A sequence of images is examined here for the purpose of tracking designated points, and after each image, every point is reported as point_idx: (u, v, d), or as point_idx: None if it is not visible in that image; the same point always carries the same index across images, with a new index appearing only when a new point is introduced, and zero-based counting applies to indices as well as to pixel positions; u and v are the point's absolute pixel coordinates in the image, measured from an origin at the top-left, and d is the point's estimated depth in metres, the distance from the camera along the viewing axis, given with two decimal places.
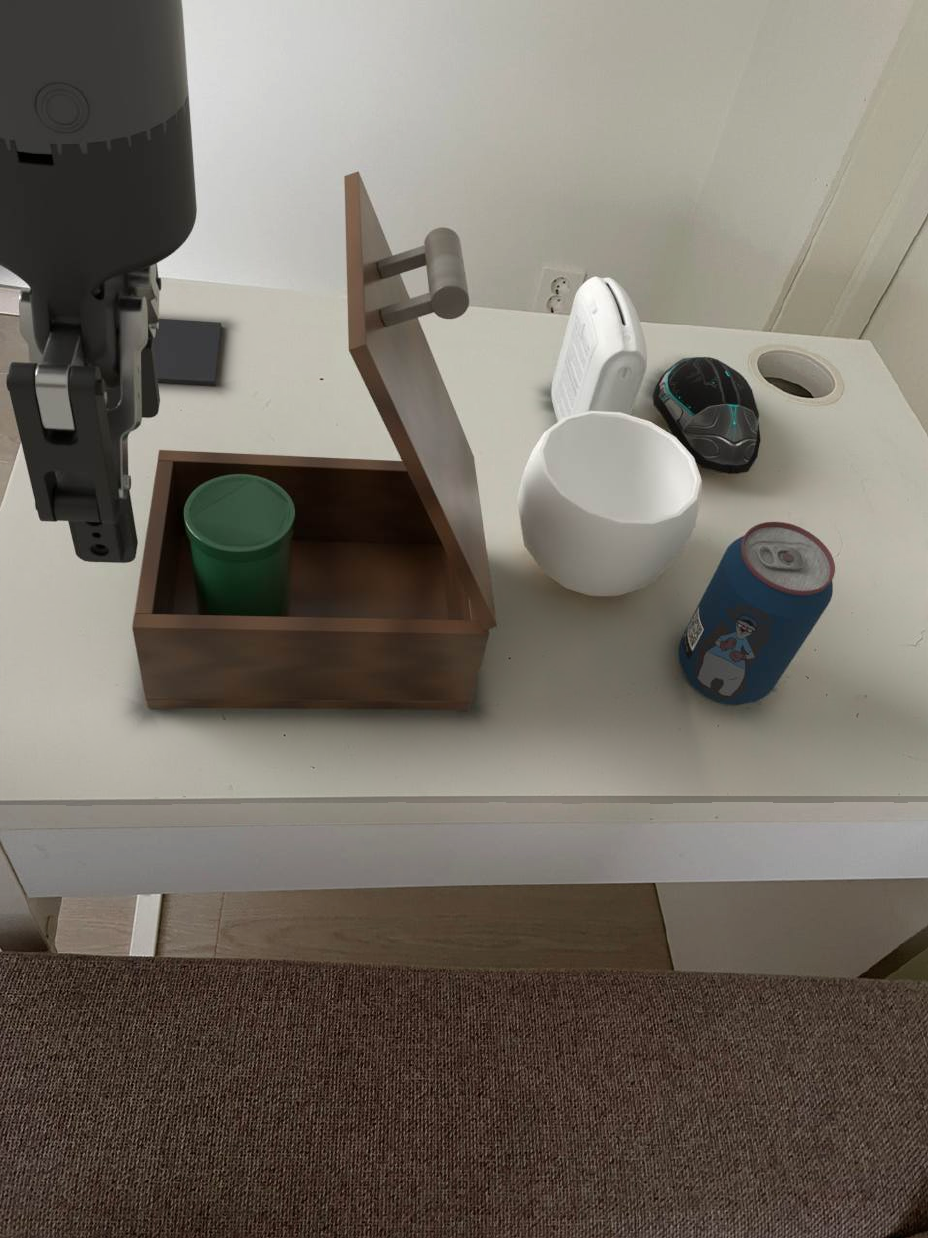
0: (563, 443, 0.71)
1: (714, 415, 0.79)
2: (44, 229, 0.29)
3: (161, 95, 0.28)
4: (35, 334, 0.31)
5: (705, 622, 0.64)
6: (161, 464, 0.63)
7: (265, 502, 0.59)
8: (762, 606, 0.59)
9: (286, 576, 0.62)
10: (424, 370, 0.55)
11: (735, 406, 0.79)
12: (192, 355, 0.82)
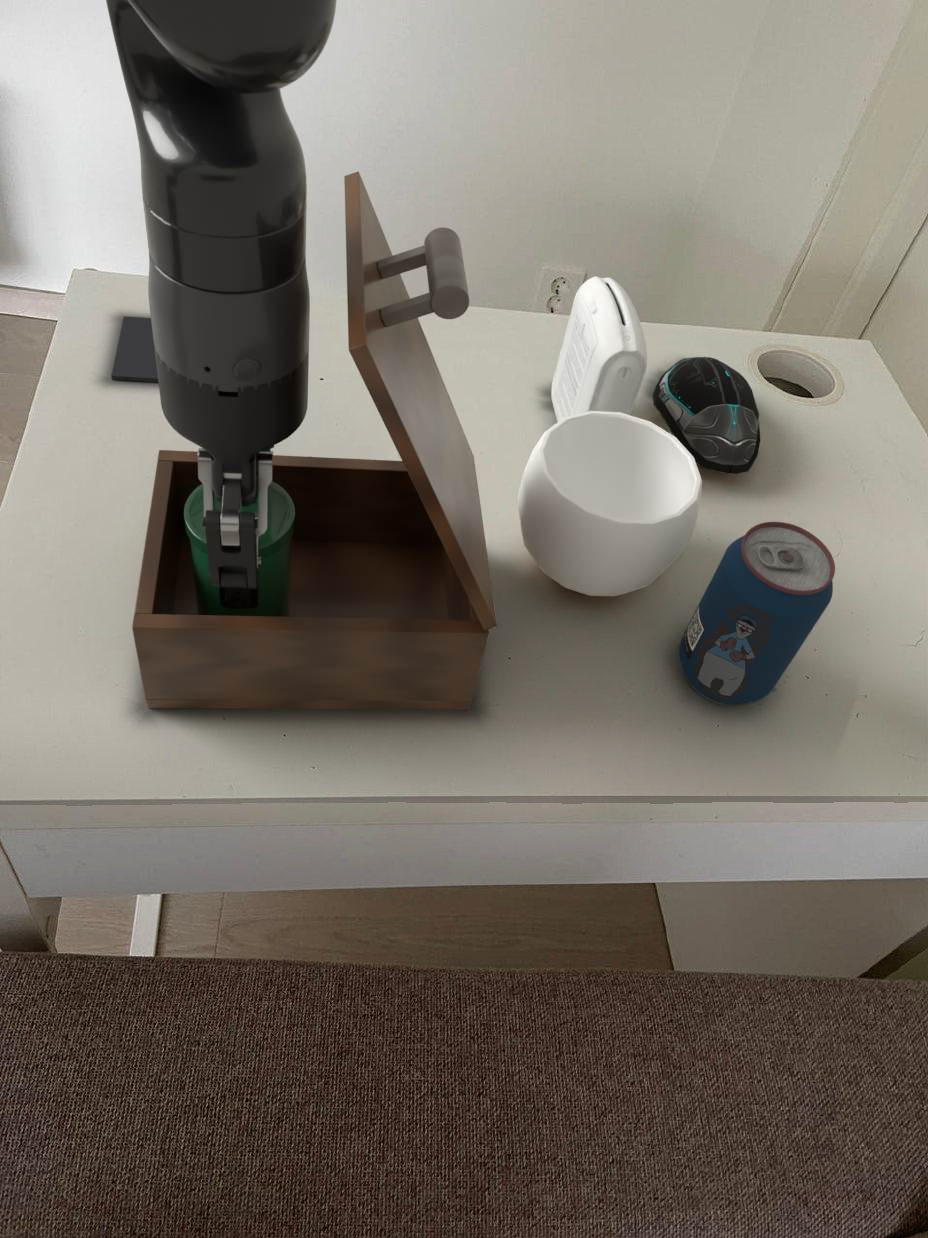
0: (563, 443, 0.71)
1: (714, 415, 0.79)
2: (227, 428, 0.49)
3: (298, 353, 0.48)
4: (213, 482, 0.51)
5: (705, 621, 0.64)
6: (161, 464, 0.63)
7: None
8: (762, 606, 0.59)
9: (286, 576, 0.62)
10: (424, 370, 0.55)
11: (735, 406, 0.79)
12: None
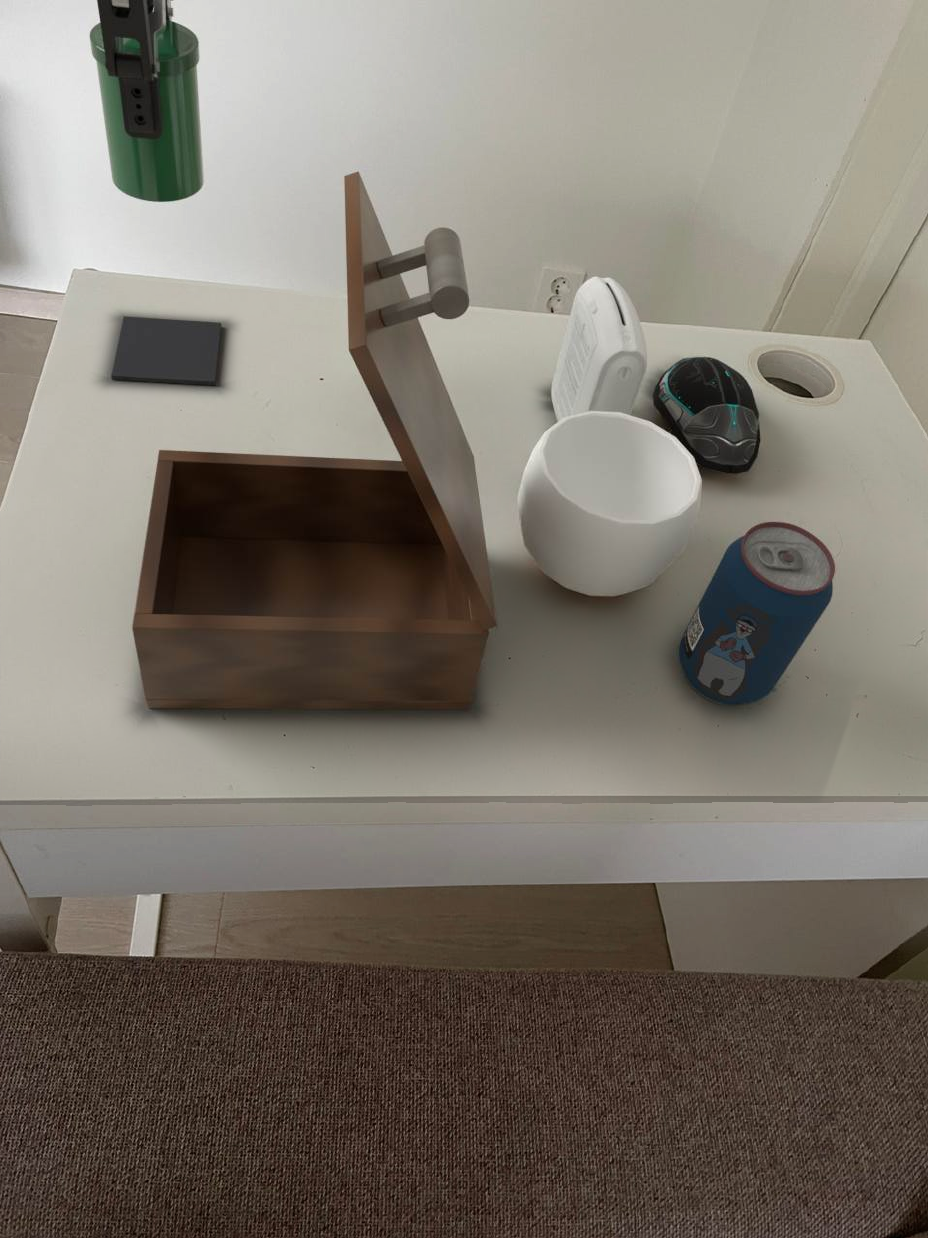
0: (563, 443, 0.71)
1: (714, 415, 0.79)
2: None
3: None
4: None
5: (705, 621, 0.64)
6: (161, 464, 0.63)
7: (170, 34, 0.62)
8: (762, 606, 0.59)
9: (193, 122, 0.64)
10: (424, 370, 0.55)
11: (735, 406, 0.79)
12: (192, 355, 0.82)
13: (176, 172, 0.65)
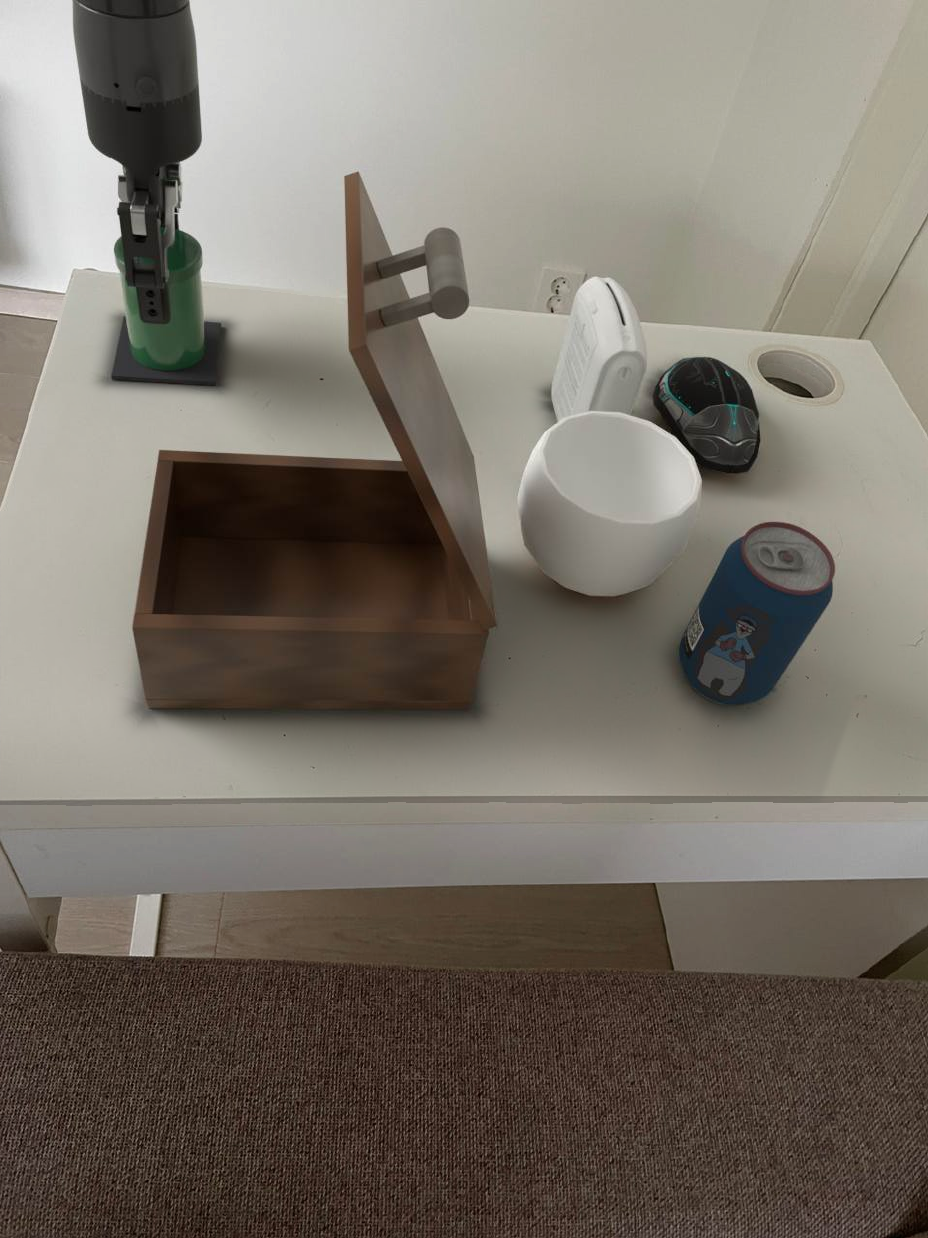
0: (563, 443, 0.71)
1: (714, 415, 0.79)
2: (135, 141, 0.65)
3: (187, 82, 0.65)
4: (127, 192, 0.68)
5: (705, 621, 0.64)
6: (161, 464, 0.63)
7: (178, 244, 0.76)
8: (762, 606, 0.59)
9: (198, 310, 0.78)
10: (424, 370, 0.55)
11: (735, 406, 0.79)
12: None
13: (184, 349, 0.79)
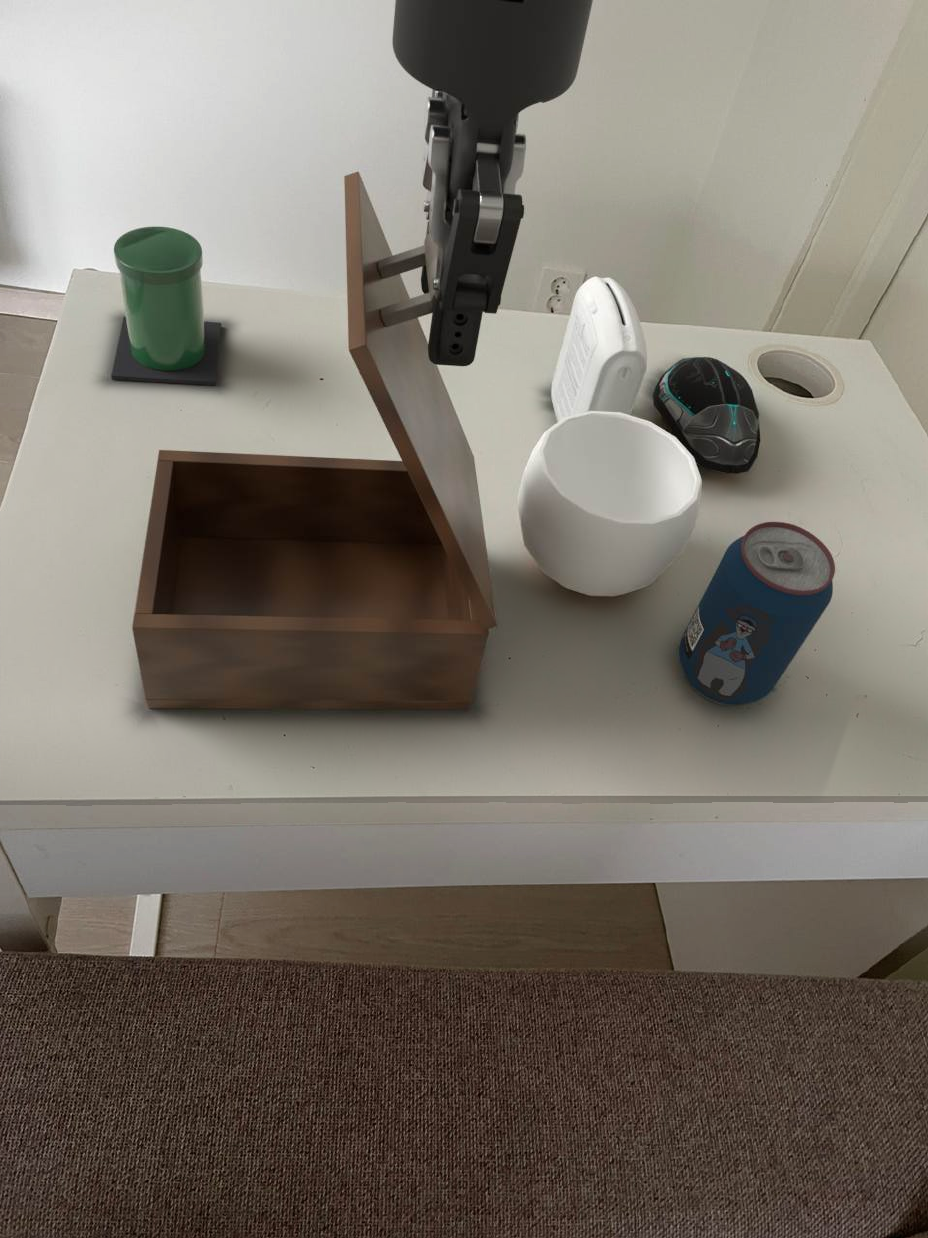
0: (563, 443, 0.71)
1: (714, 415, 0.79)
2: (497, 58, 0.37)
3: None
4: (462, 153, 0.39)
5: (705, 621, 0.64)
6: (161, 464, 0.63)
7: (178, 244, 0.76)
8: (762, 606, 0.59)
9: (198, 310, 0.78)
10: (424, 370, 0.55)
11: (735, 406, 0.79)
12: None
13: (184, 349, 0.79)
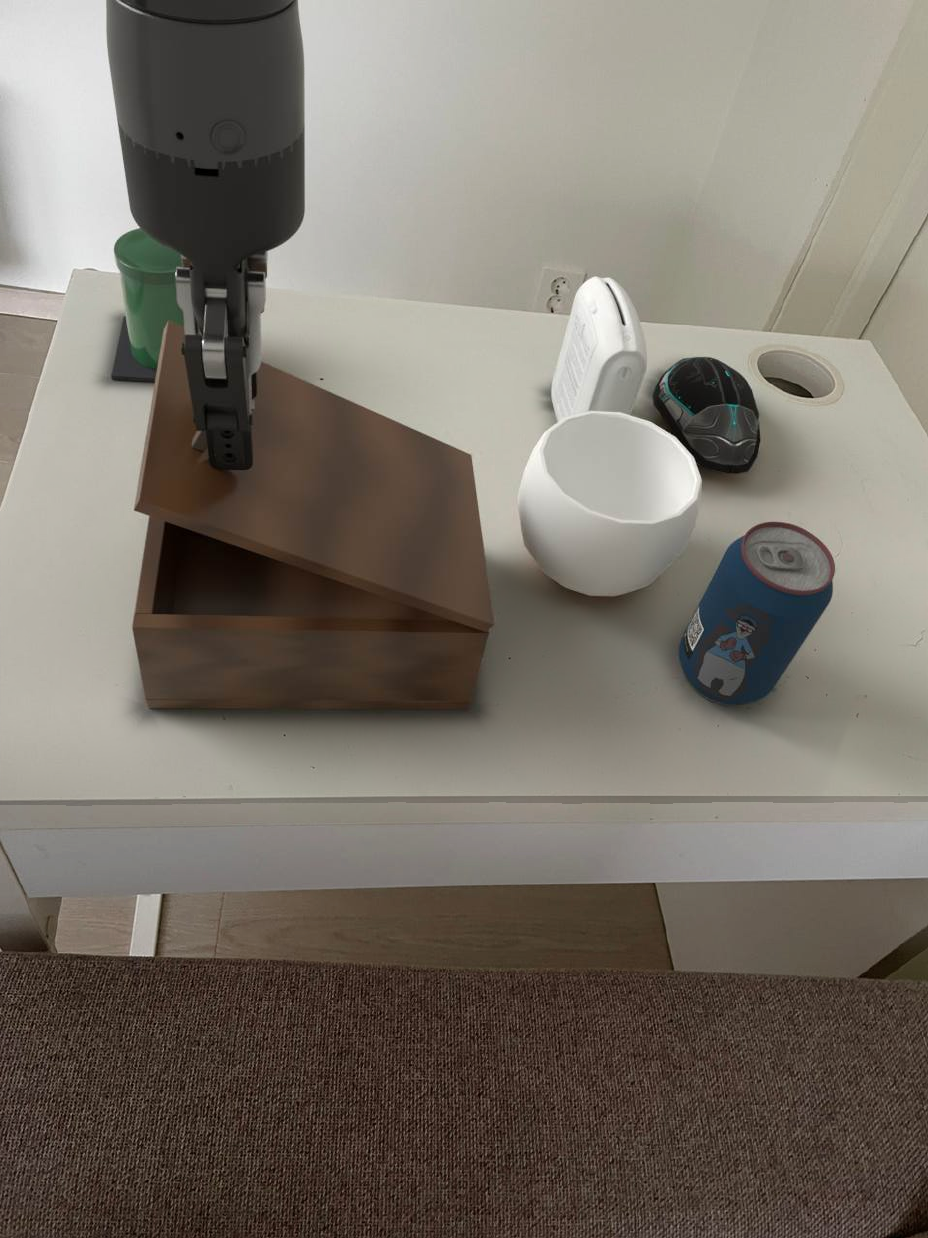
0: (563, 443, 0.71)
1: (714, 415, 0.79)
2: (207, 221, 0.41)
3: (290, 125, 0.40)
4: (193, 298, 0.43)
5: (705, 621, 0.64)
6: None
7: None
8: (762, 605, 0.59)
9: None
10: (320, 436, 0.58)
11: (735, 406, 0.79)
12: None
13: None
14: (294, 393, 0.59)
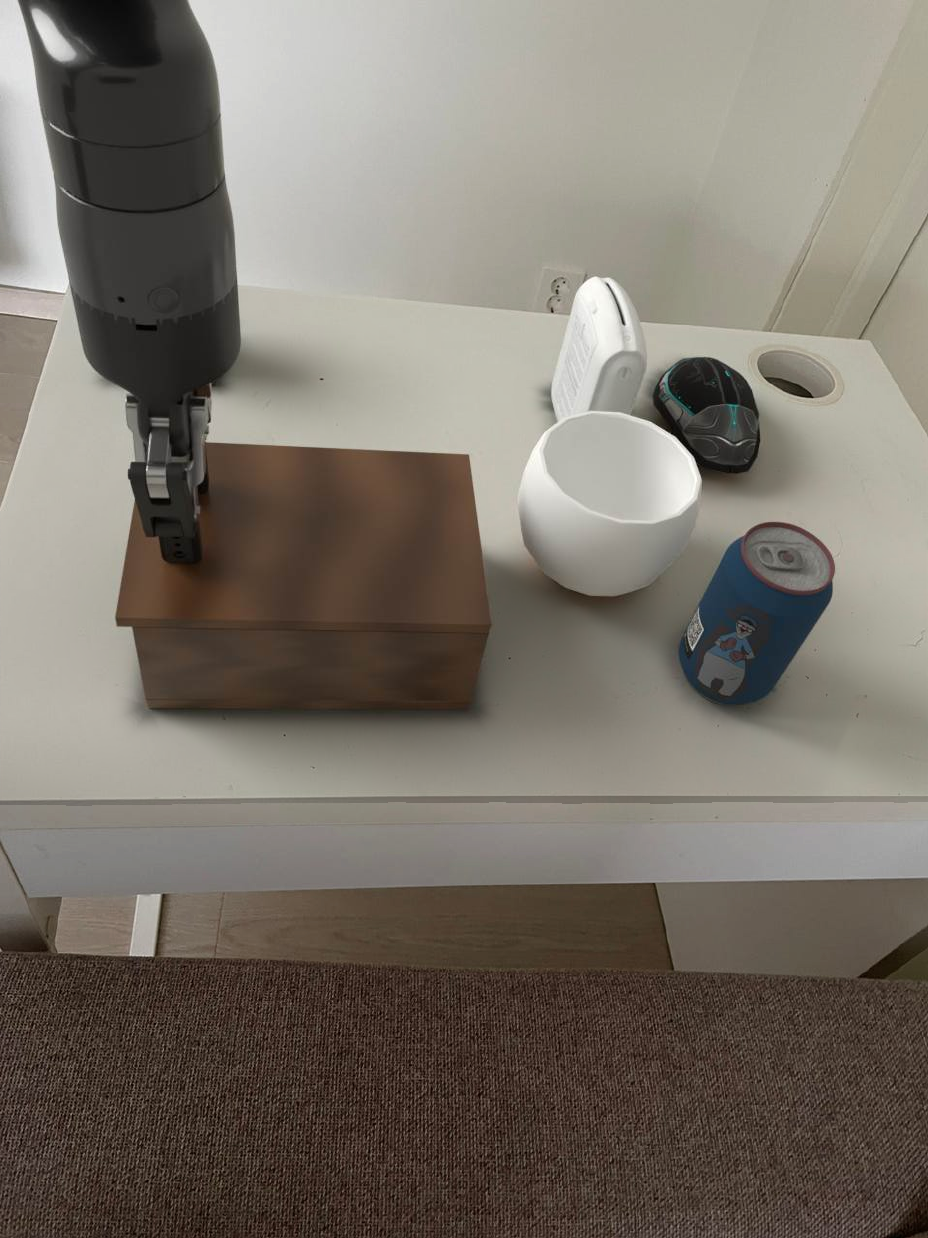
0: (563, 443, 0.71)
1: (714, 415, 0.79)
2: (148, 366, 0.46)
3: (222, 284, 0.45)
4: (139, 427, 0.48)
5: (705, 621, 0.64)
6: None
7: None
8: (762, 606, 0.59)
9: None
10: (297, 495, 0.62)
11: (735, 406, 0.79)
12: None
13: None
14: (270, 462, 0.63)
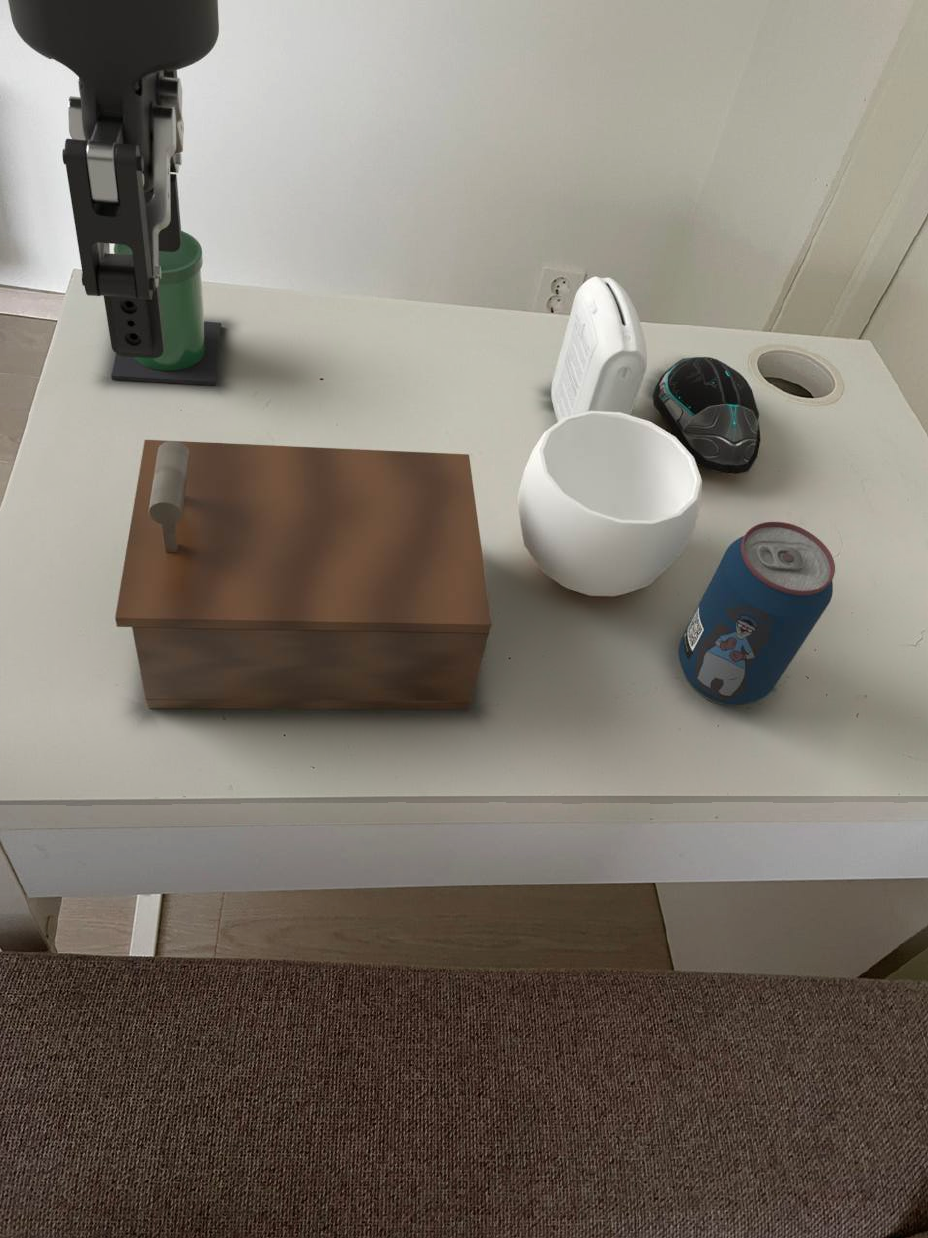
0: (563, 443, 0.71)
1: (714, 415, 0.79)
2: (95, 22, 0.35)
3: None
4: (84, 124, 0.37)
5: (705, 621, 0.64)
6: None
7: None
8: (762, 606, 0.59)
9: (198, 310, 0.78)
10: (297, 495, 0.62)
11: (735, 406, 0.79)
12: None
13: (184, 349, 0.79)
14: (270, 462, 0.63)
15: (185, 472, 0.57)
